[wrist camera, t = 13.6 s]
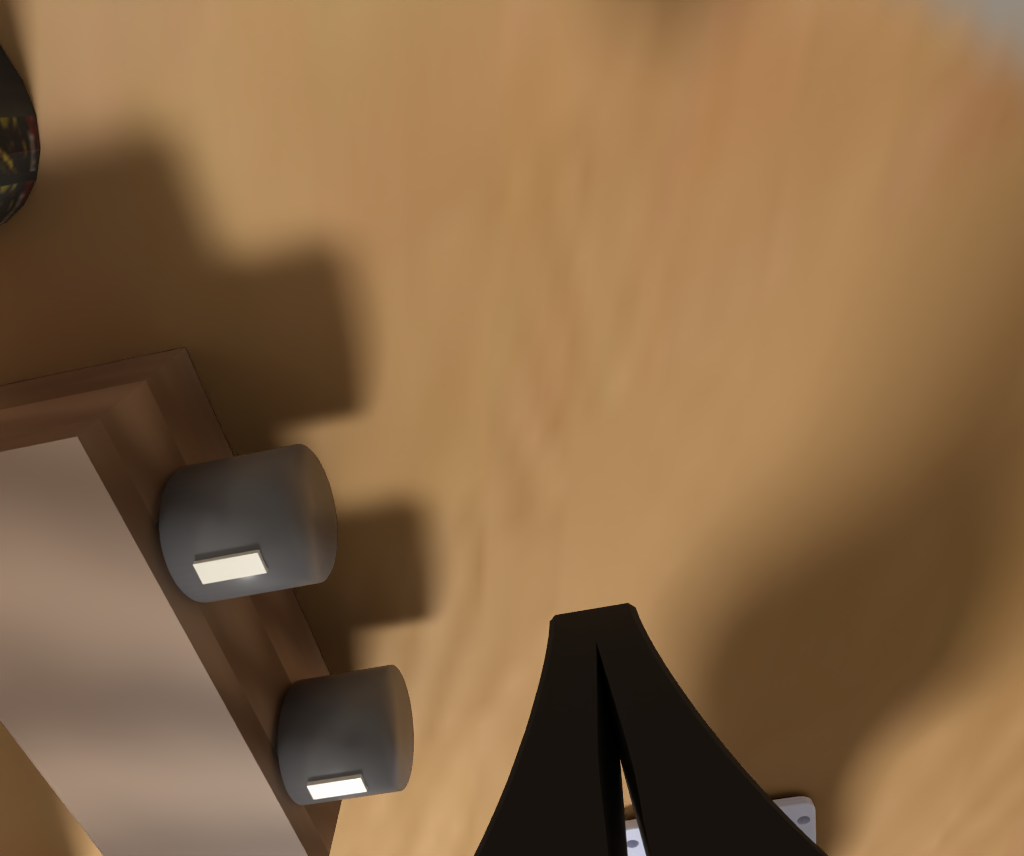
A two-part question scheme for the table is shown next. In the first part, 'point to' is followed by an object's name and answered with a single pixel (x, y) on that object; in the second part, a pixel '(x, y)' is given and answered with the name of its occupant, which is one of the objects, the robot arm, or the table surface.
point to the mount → (139, 627)
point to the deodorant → (15, 141)
